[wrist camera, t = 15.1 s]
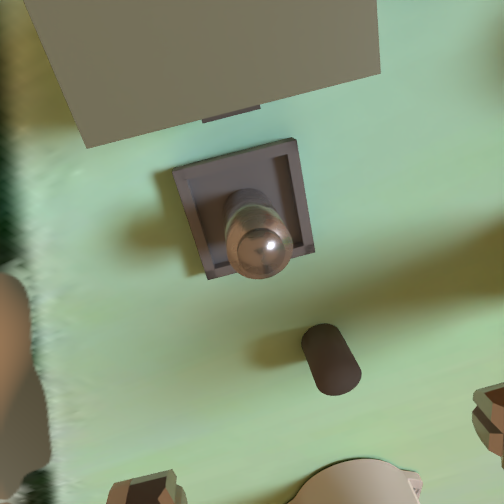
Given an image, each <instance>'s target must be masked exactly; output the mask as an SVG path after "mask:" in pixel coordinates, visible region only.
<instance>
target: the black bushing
mask: <svg viewBox="0 0 504 504" xmlns="http://www.w3.org/2000/svg"><path fill="white" fill-rule="evenodd" d="M301 344H302V348H303V351H304V353H305V356H306V359H307V362H308V364H309V367H310V370H311V372H312V375H313V378H314V380H315V383H316V386H317V388H318V389H319V391H321V392H322V393H324V394H326V395H331V396H337V395H342V394H345V393H347V392H349V391H351V390H352V389H353V388H355V387H356V386H357V384H358V383H359V381H360V379H361V369H360V367H359V365H358V363H357V362H356V360H355V358H354V356H353V354H352V353H351V351H350V349H349V347H348V345H347V344H346V342H345V340H344V338H343V336H342V335H341V333H340V331H339V329H338V328H337V327H335V326H333V325H331V324H318V325H315V326H313V327H311V328H310V329H309V330H308V331H306V333H305V334H304V336H303V338H302V342H301Z"/></svg>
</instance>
